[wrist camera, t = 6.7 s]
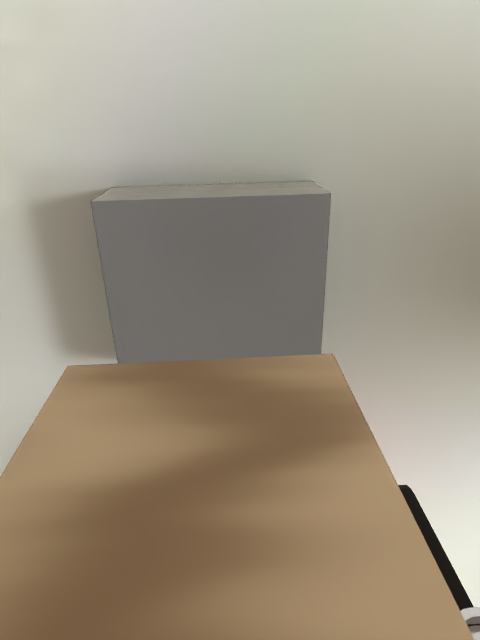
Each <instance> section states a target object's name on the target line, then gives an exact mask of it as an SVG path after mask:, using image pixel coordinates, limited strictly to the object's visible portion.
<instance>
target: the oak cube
mask: <svg viewBox="0 0 480 640" xmlns="http://www.w3.org/2000/svg"><path fill="white" fill-rule="evenodd" d="M0 640H474V638H473V636H472V634H471V632H470V630H469V628H468V626H467V624H466V622H465V620H464V618H463V616H462V614H461V612H460V610H459V608H458V606H457V604H456V602H455V600H454V598H453V596H452V594H451V592H450V589H449V587H448V585H447V583H446V581H445V579H444V577H443V575H442V573H441V571H440V569H439V567H438V565H437V563H436V561H435V559H434V557H433V555H432V553H431V551H430V549H429V547H428V545H427V543H426V541H425V539H424V537H423V535H422V533H421V531H420V529H419V527H418V525H417V523H416V521H415V519H414V517H413V515H412V513H411V511H410V509H409V507H408V505H407V503H406V501H405V499H404V497H403V495H402V492H401V490H400V488H399V486H398V484H397V482H396V480H395V478H394V476H393V474H392V472H391V470H390V468H389V466H388V464H387V462H386V460H385V458H384V456H383V454H382V452H381V450H380V448H379V446H378V444H377V442H376V440H375V438H374V436H373V434H372V432H371V430H370V428H369V426H368V424H367V422H366V420H365V418H364V416H363V414H362V412H361V410H360V408H359V406H358V404H357V402H356V400H355V397H354V395H353V393H352V391H351V389H350V387H349V385H348V383H347V381H346V379H345V377H344V375H343V373H342V371H341V369H340V367H339V365H338V363H337V361H336V359H335V357H334V355H333V354H315V355H294V356H272V357H250V358H229V359H207V360H186V361H164V362H143V363H121V364H99V365H78V366H67V368H66V370H65V371H64V373H63V375H62V376H61V378H60V379H59V381H58V383H57V384H56V386H55V388H54V389H53V391H52V393H51V394H50V396H49V398H48V399H47V401H46V403H45V404H44V406H43V407H42V409H41V411H40V412H39V414H38V416H37V417H36V419H35V421H34V422H33V424H32V426H31V427H30V429H29V431H28V432H27V434H26V436H25V437H24V439H23V440H22V442H21V444H20V445H19V447H18V449H17V450H16V452H15V454H14V455H13V457H12V459H11V460H10V462H9V464H8V465H7V467H6V469H5V470H4V472H3V473H2V475H1V477H0Z"/></svg>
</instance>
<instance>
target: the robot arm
mask: <svg viewBox="0 0 480 640" xmlns="http://www.w3.org/2000/svg"><path fill="white" fill-rule="evenodd" d="M398 486H399V488H400V490H401V492H402V495H403V497H404V499H405V501H406V503H407V505H408V507H409V509H410V511H411V513H412V515H413V517H414V519H415V521H416V523H417V525H418V527H419V529H420V531H421V533H422V535H423V537H424V539H425V541H426V543H427V545H428V547H429V549H430V551H431V553H432V555H433V557H434V559H435V561H436V563H437V565H438V567H439V569H440V571H441V573H442V575H443V577H444V579H445V581H446V583H447V585H448V587H449V589H450V592H451V594H452V596H453V598H454V600H455V602H456V604H457V606H458V608H459V610H460V612H461V614H462V616H463V618H464V620H465V622H466V624H467V626H468V628H469V630H470V632H471V634H472V636H473V638H474V640H480V608H479V607H473V605H472V603H471V601H470V599H469V597H468V595H467V593H466V591H465V589H464V588H463V586H462V584H461V582H460V580H459V578H458V576H457V574H456V572H455V570H454V569H453V567H452V565H451V563H450V561H449V559H448V557H447V555H446V553H445V551H444V550H443V548H442V546H441V544H440V542H439V540H438V538H437V536H436V534H435V532H434V531H433V529H432V527H431V525H430V523H429V521H428V519H427V517H426V515H425V513H424V512H423V510H422V508H421V506H420V504H419V502H418V500H417V498H416V496H415V494H414V493H413V491H412V490H411V488H410V487H408V486H407V485H398Z"/></svg>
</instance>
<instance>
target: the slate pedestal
mask: <svg viewBox="0 0 480 640" xmlns="http://www.w3.org/2000/svg"><path fill="white" fill-rule="evenodd" d="M330 199H331V193H329V192H328V191H326V190H325V189H323V188H322V187H320V186H319V185H317V184H316V183H315V182H313V181H299V182H267V183H235V184H203V185H170V186H138V187H112V188H111V189H109V190H108V191H106V192H104V193H103V194H101V195H100V196H98V197H97V198H95V199H93V200H92V201H91V205H92V211H93V217H94V223H95V229H96V235H97V241H98V247H99V253H100V259H101V265H102V271H103V277H104V283H105V289H106V295H107V301H108V307H109V313H110V319H111V325H112V331H113V337H114V343H115V349H116V354H117V360H118V364H121V363H143V362H164V361H186V360H207V359H229V358H250V357H272V356H294V355H315V354H321V342H322V326H323V310H324V294H325V279H326V263H327V247H328V231H329V215H330Z"/></svg>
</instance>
